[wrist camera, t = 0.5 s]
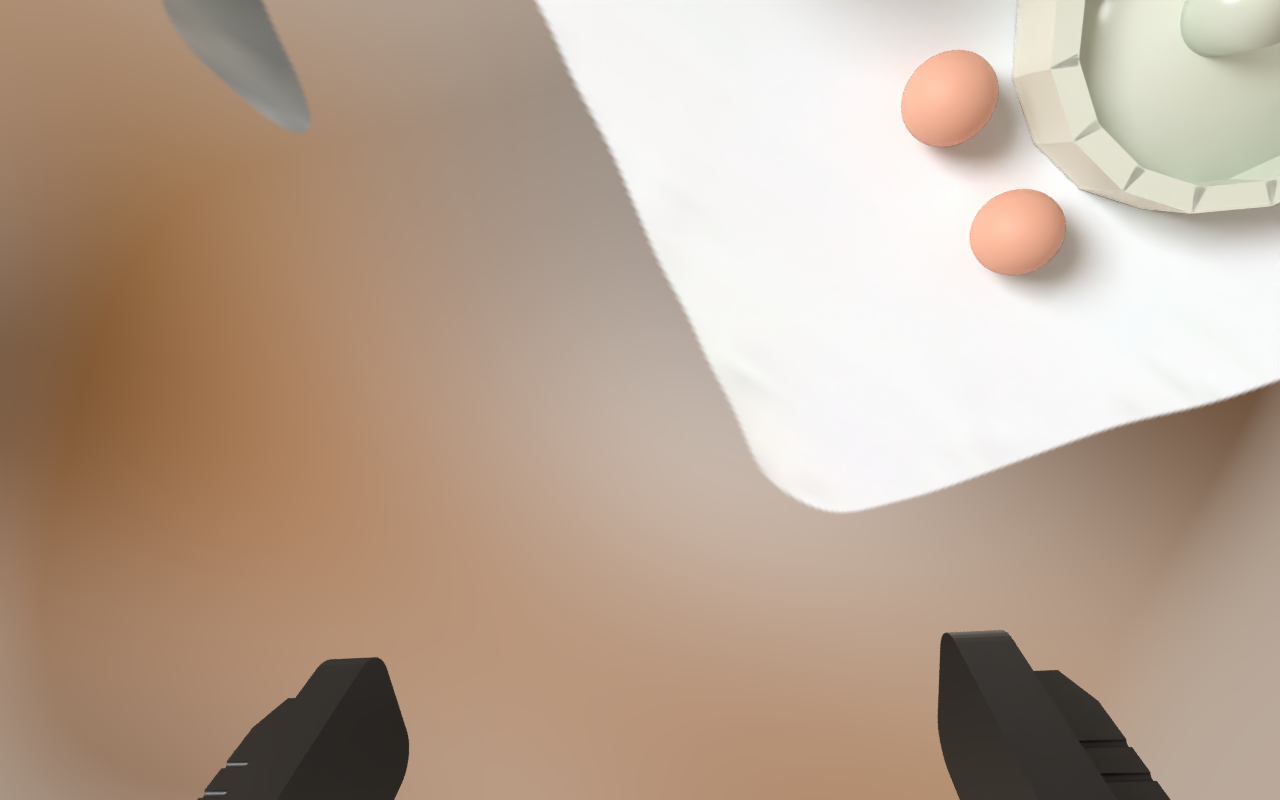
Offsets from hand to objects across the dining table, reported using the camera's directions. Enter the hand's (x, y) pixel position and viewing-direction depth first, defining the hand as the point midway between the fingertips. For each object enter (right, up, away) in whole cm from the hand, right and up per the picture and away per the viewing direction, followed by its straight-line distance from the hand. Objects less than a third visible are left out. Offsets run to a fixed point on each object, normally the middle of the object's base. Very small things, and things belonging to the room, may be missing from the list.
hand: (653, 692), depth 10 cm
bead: (+13, +17, +19) cm, 29 cm away
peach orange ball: (+16, +12, +21) cm, 29 cm away
